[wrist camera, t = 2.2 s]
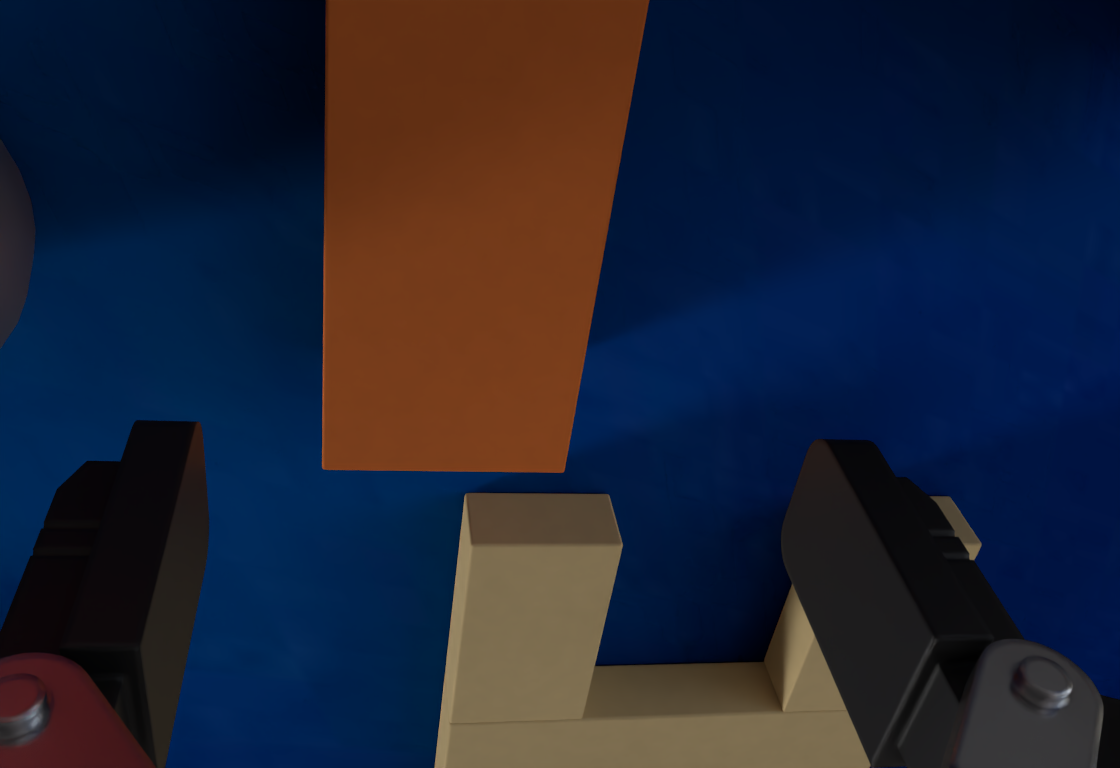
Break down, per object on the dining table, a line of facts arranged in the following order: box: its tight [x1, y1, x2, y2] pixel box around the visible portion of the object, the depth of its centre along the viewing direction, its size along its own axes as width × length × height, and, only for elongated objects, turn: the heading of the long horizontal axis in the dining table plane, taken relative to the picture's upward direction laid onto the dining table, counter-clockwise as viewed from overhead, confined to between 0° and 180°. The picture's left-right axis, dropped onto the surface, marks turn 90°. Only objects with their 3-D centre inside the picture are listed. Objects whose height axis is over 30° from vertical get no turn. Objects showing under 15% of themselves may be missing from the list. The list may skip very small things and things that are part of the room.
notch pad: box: [435, 493, 981, 768], centre depth 31 cm, size 14×14×2 cm
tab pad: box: [322, 0, 649, 473], centre depth 20 cm, size 5×10×4 cm, turn 172°
